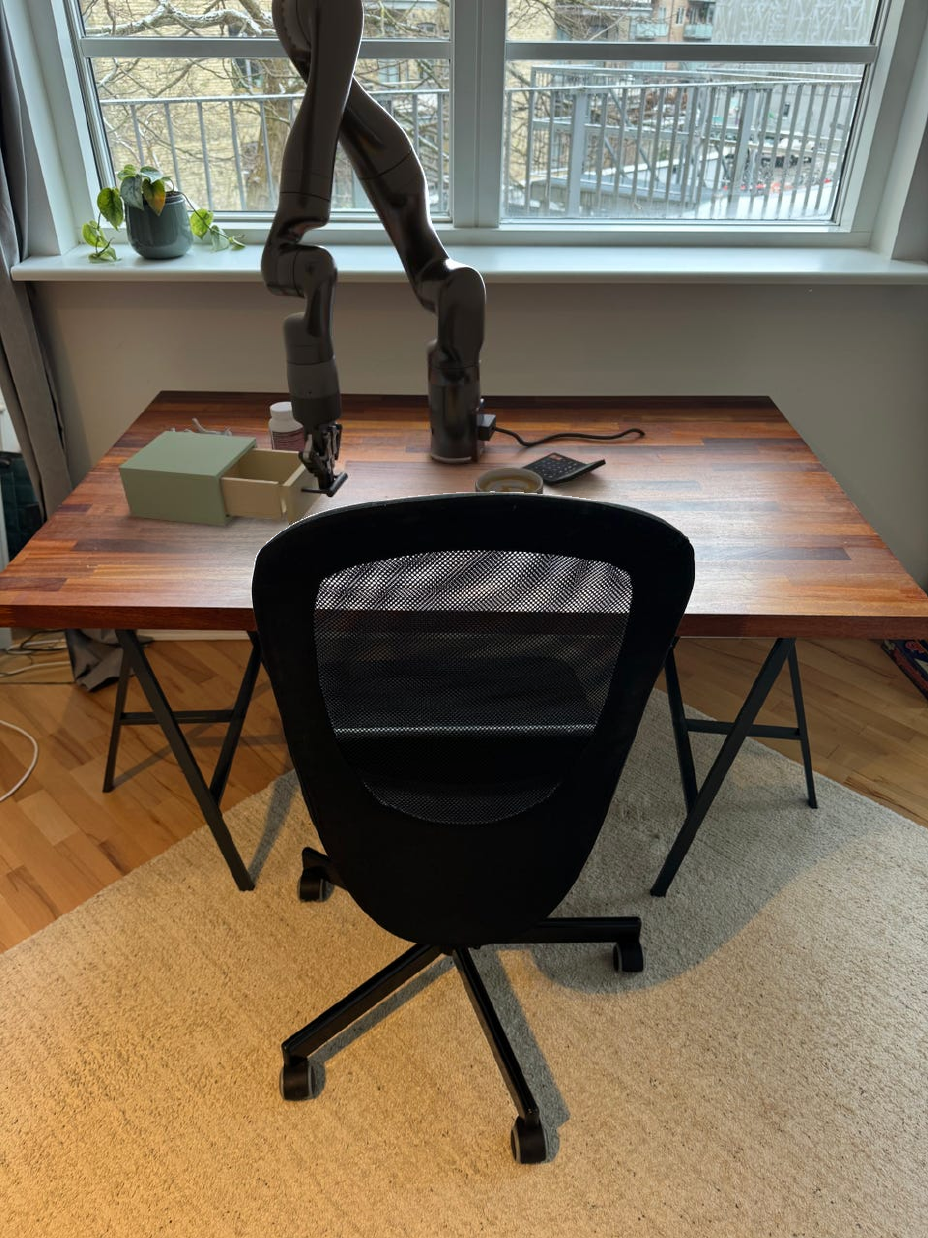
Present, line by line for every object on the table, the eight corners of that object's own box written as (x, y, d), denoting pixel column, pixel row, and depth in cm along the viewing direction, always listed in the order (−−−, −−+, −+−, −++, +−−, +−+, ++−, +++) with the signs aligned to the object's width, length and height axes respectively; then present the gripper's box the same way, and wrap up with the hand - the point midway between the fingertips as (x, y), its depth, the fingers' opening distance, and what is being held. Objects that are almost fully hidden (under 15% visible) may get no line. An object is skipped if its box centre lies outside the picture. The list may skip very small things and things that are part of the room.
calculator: (553, 456, 159) (554, 441, 157) (605, 475, 152) (606, 459, 150) (518, 473, 154) (518, 457, 152) (570, 493, 147) (571, 477, 145)
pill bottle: (316, 464, 159) (308, 406, 153) (287, 475, 155) (278, 416, 149) (296, 454, 163) (288, 397, 156) (268, 465, 159) (258, 406, 153)
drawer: (358, 490, 148) (353, 452, 144) (328, 529, 137) (323, 489, 133) (242, 480, 152) (235, 442, 148) (205, 517, 142) (196, 477, 138)
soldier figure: (192, 439, 172) (243, 424, 168) (192, 462, 171) (243, 448, 167) (164, 423, 165) (217, 407, 161) (164, 447, 164) (217, 432, 160)
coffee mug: (547, 555, 131) (549, 494, 125) (481, 561, 130) (480, 500, 124) (530, 513, 142) (531, 455, 136) (468, 518, 141) (467, 460, 135)
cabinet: (264, 485, 153) (255, 437, 148) (225, 526, 141) (215, 475, 136) (176, 477, 156) (165, 430, 151) (131, 516, 144) (117, 467, 139)
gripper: (321, 404, 126) (334, 513, 136) (353, 373, 136) (363, 475, 146) (272, 401, 127) (289, 508, 137) (307, 370, 138) (321, 472, 148)
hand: (327, 491), depth 142 cm, fingers closed
